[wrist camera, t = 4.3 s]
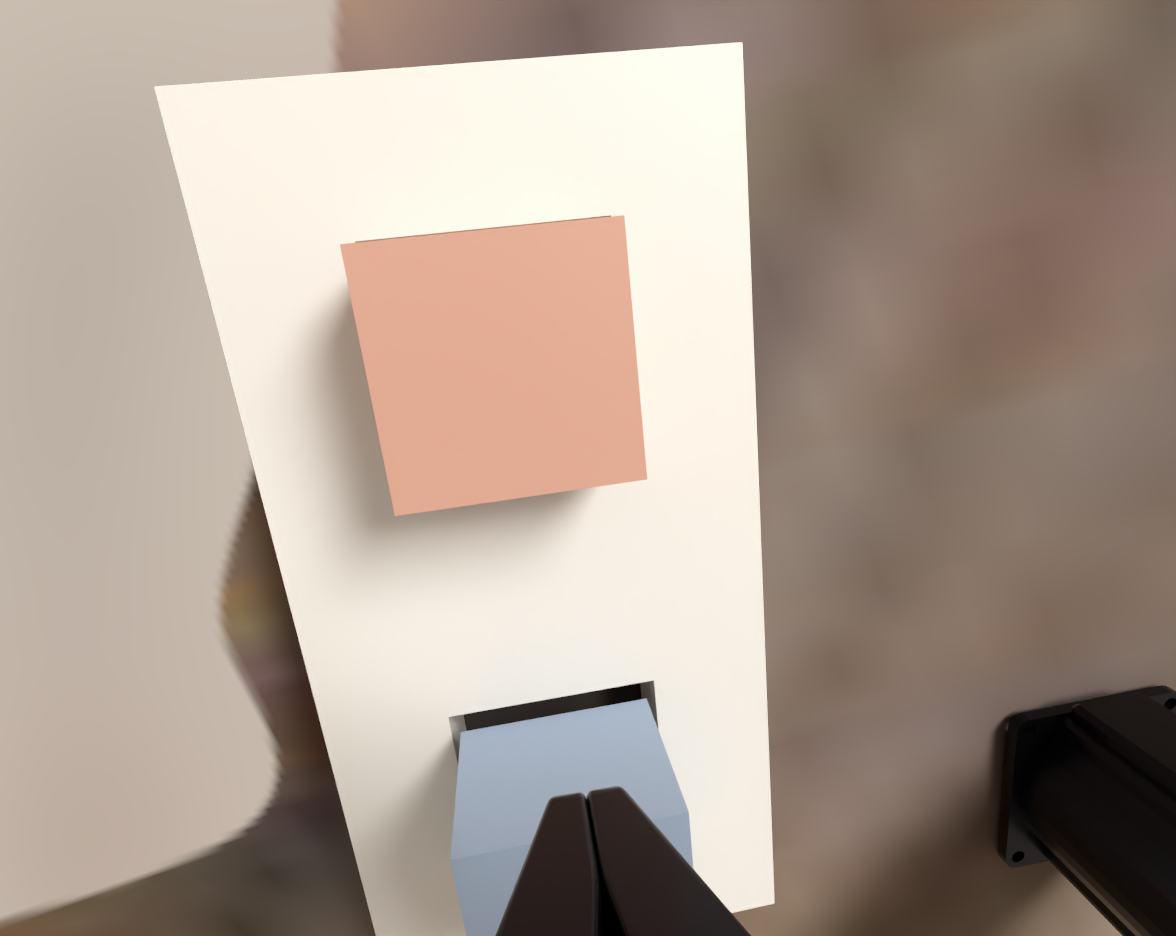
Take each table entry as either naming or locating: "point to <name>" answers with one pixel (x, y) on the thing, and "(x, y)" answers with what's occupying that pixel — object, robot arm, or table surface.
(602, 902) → the robot arm
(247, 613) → the table surface
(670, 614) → the key panel
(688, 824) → the slate key
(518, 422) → the terracotta key
